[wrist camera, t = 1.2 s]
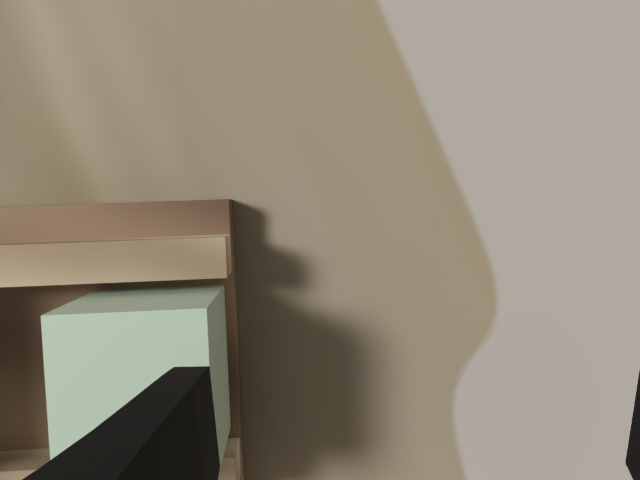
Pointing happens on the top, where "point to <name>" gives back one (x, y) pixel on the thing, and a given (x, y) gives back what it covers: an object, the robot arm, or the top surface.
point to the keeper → (129, 354)
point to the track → (101, 274)
